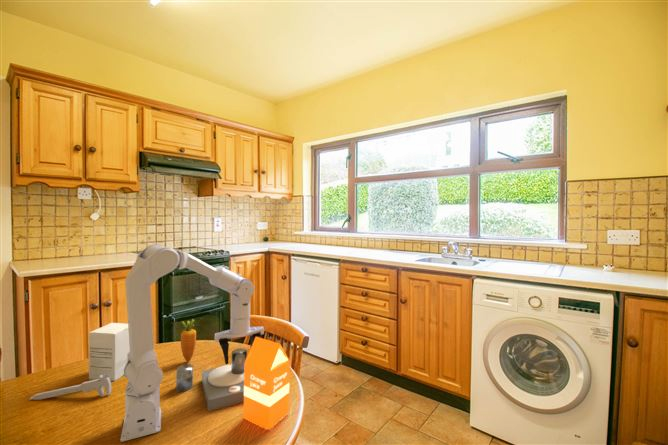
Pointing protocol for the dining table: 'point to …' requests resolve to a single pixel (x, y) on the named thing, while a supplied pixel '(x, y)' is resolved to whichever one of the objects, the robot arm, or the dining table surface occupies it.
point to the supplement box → (108, 351)
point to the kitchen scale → (222, 387)
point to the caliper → (79, 388)
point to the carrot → (188, 340)
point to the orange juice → (266, 383)
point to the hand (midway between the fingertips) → (239, 360)
